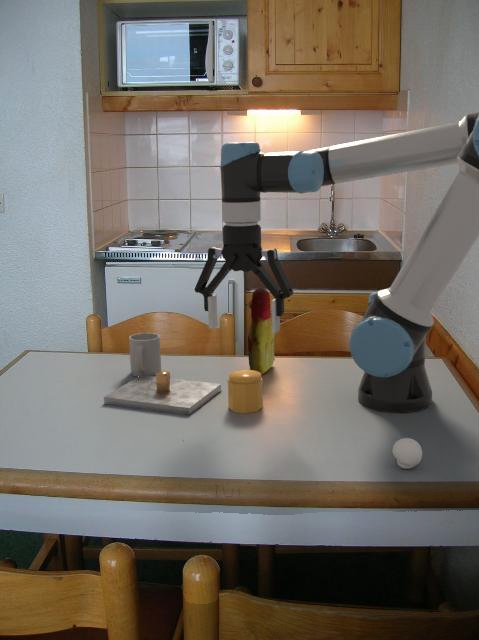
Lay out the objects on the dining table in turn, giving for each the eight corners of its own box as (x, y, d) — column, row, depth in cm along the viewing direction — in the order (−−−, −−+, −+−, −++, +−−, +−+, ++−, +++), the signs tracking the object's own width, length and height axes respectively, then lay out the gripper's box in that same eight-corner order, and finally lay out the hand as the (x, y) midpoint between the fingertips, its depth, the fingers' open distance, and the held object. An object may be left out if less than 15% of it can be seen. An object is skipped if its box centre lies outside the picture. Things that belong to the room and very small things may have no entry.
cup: (164, 368, 180) (163, 333, 178) (154, 381, 171) (152, 344, 169) (135, 367, 181) (133, 332, 179) (123, 380, 172) (121, 343, 170)
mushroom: (393, 459, 126) (394, 432, 125) (422, 462, 125) (423, 435, 124) (390, 471, 122) (391, 443, 121) (420, 475, 120) (422, 446, 119)
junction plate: (221, 390, 163) (220, 366, 162) (189, 414, 149) (188, 388, 148) (141, 381, 171) (140, 358, 170) (104, 403, 156) (102, 378, 155)
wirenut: (266, 403, 155) (265, 371, 153) (254, 414, 149) (254, 381, 147) (237, 400, 157) (236, 368, 155) (224, 410, 151) (223, 377, 150)
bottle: (269, 378, 171) (268, 293, 167) (242, 377, 173) (240, 292, 168) (278, 363, 183) (277, 283, 178) (253, 362, 184) (251, 283, 179)
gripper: (308, 222, 143) (309, 329, 148) (192, 220, 152) (196, 320, 157) (296, 226, 136) (297, 338, 141) (175, 224, 145) (180, 329, 150)
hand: (244, 329), depth 149 cm, fingers open, 13 cm apart
